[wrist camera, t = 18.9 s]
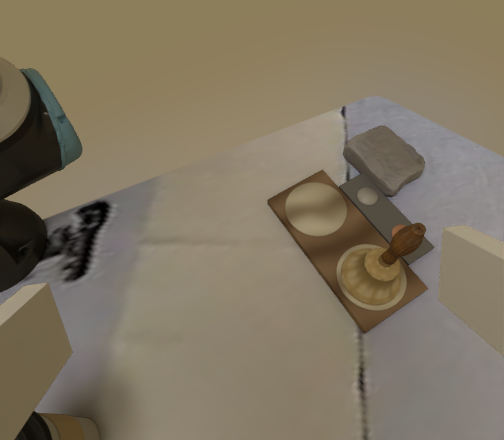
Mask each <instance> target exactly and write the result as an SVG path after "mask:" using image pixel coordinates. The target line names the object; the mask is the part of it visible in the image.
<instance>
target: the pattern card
mask: <svg viewBox="0 0 504 440" xmlns="http://www.w3.org/2000/svg"><path fill="white" fill-rule="evenodd" d="M339 189H340V190H341V191H342V192H343V193H344V194H345V195H346V197H347V198H348V199H349V200H350V201H351V202H352V203H353V204H354V206H355V207H356V208H357V209H358V210H359V211H360V212H361V213H362V215H363V216H364V217H365V218H366V219H367V220H368V221H369V222H370V224H371V225H372V226H373V227H374V228H375V229H376V230H377V231H378V233H379V234H380V235H381V236H382V237H383V238H384V239H385V240H386V242H387V243H388V244H389V245H390V242H391V240H392V238H393V236H394V235H395V234H396V233H397V232H398V231H399V230H400V229H402V228H403V227H406V226H409V225H413V224H412V223H411V222H410V221H409V220H408V219H407V218H406V217H405V216H404V215H403V214H402V213H401V212H400V211H399V210H398V209H397V208H396V207H395V206H394V205H393V203H392V202H391V201H390V200H389V199H388V198H387V197H386V196H385V195H384V194H383V193H382V192H381V191H380V190H379V189H378V188H377V187H376V186H375V185H374V184H373V183H372V182H371V181H370V179H369V178H368V177H367V176H366V175H365V174H364V173H362V174H360V175H358V176H356V177H355V178H353V179H351V180H349V181H348V182H346V183H344V184H342V185H341V186H339ZM433 248H434V246H433V245H432V244H431V243H430V242H429V241H428V240H427V239H426V238H425V237H423V241H422V243H421V245H420V246H419V248H417V249H416V250H415V251H414V252H412V253H411V254H409V255H406V256H401V258H402V260H403V261H404V262H405V263H406V264H407V265H409V264H411V263H412V262H414V261H415V260H417V259H418V258H420V257H421V256H423V255H424V254H426V253H427V252H429V251H430V250H432V249H433Z"/></svg>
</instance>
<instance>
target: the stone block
mask: <svg viewBox="0 0 504 440" xmlns="http://www.w3.org/2000/svg"><path fill="white" fill-rule="evenodd" d="M343 156H344V157H345V159H346V160H347V161H348V162H349V163H350V164H351V165H352V166H354V167H355V168H356V169H357V170H358V171H359V172H360V173H361V174H362V173H364V174H365V175H366V176H367V177H368V178H369V179H370V181H371V182H372V183H373V184H374V185H375V186H376V187H377V188H378V189H379V190H380V191H381V192H382V193H383V194H384V195H385V196H388V197H392V196H395V195H396V194H397V192H398V191H399V190H400V189H401V188H402V186H403V185H405V184H407V183H410V182H412V181H413V180H415V179H417V178H418V177H419V176H420V175H421V173H422V171H423V169H424V164H425V161H424V158H423V157H422V156H421V155H419V154H418V153H417V152H416V150H415V149H414V148H413V147H412V146H411V145H409V144H406V142H405V141H404V140H403V139H401V138H400V137H399V136H397V135H396V134H395V133H394V132H393V131H392V130H390V129H389V128H388V127H386V126H378V127H376V128H373V129H370V130H368V131H367V132H365V133H362V134H360V135H357V136H355V137H353V138H352V139H350V140H349V141H348V143H347V144H346V146H345V147H344V152H343Z"/></svg>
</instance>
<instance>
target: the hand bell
mask: <svg viewBox="0 0 504 440" xmlns="http://www.w3.org/2000/svg"><path fill="white" fill-rule="evenodd" d="M425 232H426V228H425V226H424V225H423V224H421V223H415V224H413V225H409V226H406V227H403V228H402V229H400V230H399V231H398V232H397V233H396V234H395V235H394V236H393V238H392V240H391V242H390V247H389V249H385V248H374V249H371V248H363V249H358V250H355V251H353V252H351V253H350V254H349V255H348V256H347V257H346V258H345V259H344V261H343V263H342V266H341V279H342V282H343V285H344V287H345V289H346V290H347V291H348V293H349V294H350V295H351V296H352V297H353V298H355V299H356V300H358V301H359V302H362V303H364V304H367V305H374V306H378V305H384V304H386V303H389V302H390V301H392V300H393V299H394V298H395V297H396V296H397V294H398V293H399V290H400V287H401V275H400V262H399V260H398V258H399V257H401V256H406V255H409V254H411V253H412V252H414V251H415V250H416V249H417V248H419V246H420V245H421V243H422V241H423V237H424V234H425Z"/></svg>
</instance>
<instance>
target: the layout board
mask: <svg viewBox="0 0 504 440" xmlns="http://www.w3.org/2000/svg"><path fill="white" fill-rule="evenodd" d="M268 205H269V206H270V208H271V209H272V210H273V212H274V213H275V214H276V216H277V217H278V218H279V220H280V221H281V222H282V224H283V225H284V226H285V228H286V229H287V230H288V232H289V233H290V235H291V236H292V237H293V239H294V240H295V241H296V243H297V244H298V245H299V247H300V248H301V249H302V251H303V252H304V253H305V255H306V256H307V258H308V259H309V260H310V262H311V263H312V264H313V266H314V267H315V268H316V270H317V271H318V272H319V274H320V275H321V276H322V278H323V279H324V281H325V282H326V283H327V285H328V286H329V287H330V289H331V290H332V291H333V293H334V294H335V295H336V297H337V298H338V299H339V301H340V302H341V303H342V305H343V306H344V308H345V309H346V310H347V312H348V313H349V314H350V316H351V317H352V318H353V320H354V321H355V322H356V324H357V325H358V326H359V328H360V329H361V331H362V332H363V333H366V332H367V331H369V330H370V329H371V328H373V327H374V326H376V325H377V324H378V323H380V322H381V321H383V320H384V319H386V318H387V317H388V316H390V315H391V314H393V313H394V312H395V311H397V310H398V309H400V308H401V307H403V306H404V305H405V304H407V303H408V302H410V301H411V300H412V299H414V298H415V297H417V296H418V295H420V294H421V293H422V292H424V291H425V290H427V289H428V288H427V287H426V285H425V284H424V283H423V282H422V281H421V280H420V279H419V278H418V276H417V275H416V274H415V273H414V272H413V271H412V270H411V269H410V267H409V266H408V265H407V264H406V263H405V262H404V261H403V260H402V258H401V257H399V258H398V260H399V262H400V275H401V287H400V290H399V293H398V294H397V296H396V297H395V298H394V299H393V300H392V301H390V302H389V303H386V304H384V305H378V306H374V305H367V304H364V303H362V302H359V301H358V300H356V299H355V298H353V297H352V296H351V295H350V294H349V293H348V291H347V290H346V289H345V287H344V285H343V282H342V279H341V266H342V263H343V261H344V259H345V258H346V257H347V256H348V255H349V254H350V253H351V252H353V251H355V250H358V249H363V248H371V249H374V248H385V249H389V247H390V245H389V244H388V243H387V242H386V240H385V239H384V238H383V237H382V236H381V235H380V234H379V233H378V231H377V230H376V229H375V228H374V227H373V226H372V225H371V224H370V222H369V221H368V220H367V219H366V218H365V217H364V216H363V215H362V213H361V212H360V211H359V210H358V209H357V208H356V207H355V206H354V204H353V203H352V202H351V201H350V200H349V199H348V198H347V197H346V195H345V194H344V193H343V192H342V191H341V190H340V189H339V188H338V186H337V185H336V184H335V183H334V182H333V181H332V180H331V179H330V177H329V176H328V175H327V174H326V173H325V172H324V171H323V170H321V171H319V172H317V173H315V174H314V175H312V176H310V177H308V178H306V179H305V180H303V181H301V182H299V183H297V184H295V185H294V186H292V187H290V188H288V189H286V190H285V191H283V192H281V193H279V194H277V195H276V196H274V197H272V198H270V199H268Z"/></svg>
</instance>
